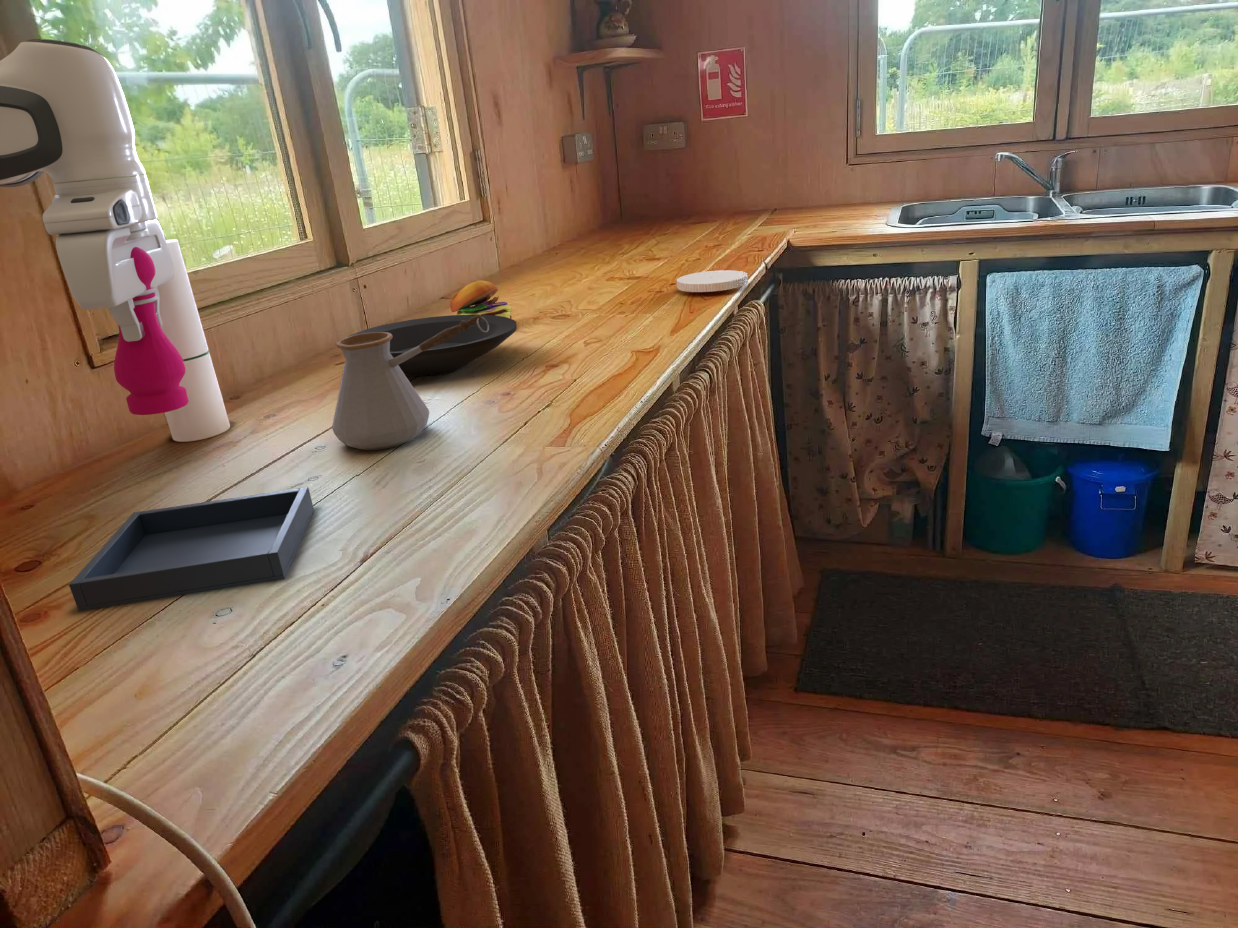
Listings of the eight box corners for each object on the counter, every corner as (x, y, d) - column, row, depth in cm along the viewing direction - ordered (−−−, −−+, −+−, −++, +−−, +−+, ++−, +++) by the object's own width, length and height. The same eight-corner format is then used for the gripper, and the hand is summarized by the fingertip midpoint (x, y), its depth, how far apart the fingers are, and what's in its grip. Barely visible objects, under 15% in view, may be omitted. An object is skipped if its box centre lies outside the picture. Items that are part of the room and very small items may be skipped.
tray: (80, 616, 72) (68, 584, 71) (142, 539, 86) (133, 512, 84) (286, 583, 74) (277, 552, 73) (315, 513, 87) (308, 486, 86)
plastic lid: (669, 298, 170) (668, 285, 169) (687, 284, 182) (686, 271, 181) (740, 296, 165) (739, 282, 164) (753, 281, 178) (753, 269, 177)
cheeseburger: (492, 337, 153) (472, 282, 150) (451, 348, 159) (431, 296, 157) (527, 322, 161) (508, 270, 158) (486, 334, 167) (467, 283, 165)
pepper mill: (125, 405, 103) (78, 231, 96) (192, 394, 106) (151, 225, 99) (124, 420, 97) (74, 236, 90) (195, 408, 100) (151, 229, 93)
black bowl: (315, 390, 132) (306, 354, 130) (397, 348, 153) (390, 317, 151) (482, 389, 123) (475, 351, 121) (544, 345, 144) (540, 312, 142)
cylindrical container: (221, 422, 121) (169, 238, 112) (238, 432, 116) (184, 240, 106) (167, 437, 117) (108, 248, 108) (181, 448, 112) (121, 250, 102)
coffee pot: (318, 459, 102) (288, 334, 97) (367, 426, 113) (343, 311, 107) (486, 460, 97) (464, 327, 91) (522, 424, 107) (504, 303, 101)
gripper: (114, 203, 103) (147, 319, 108) (33, 219, 84) (77, 358, 89) (170, 198, 103) (200, 313, 108) (102, 212, 84) (142, 351, 89)
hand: (144, 334), depth 98 cm, fingers closed on pepper mill, 4 cm apart
